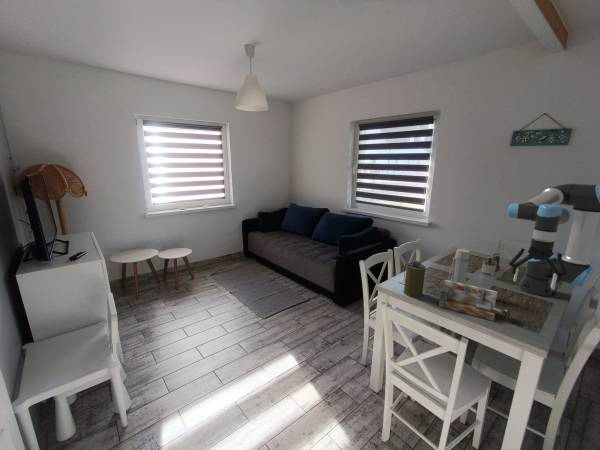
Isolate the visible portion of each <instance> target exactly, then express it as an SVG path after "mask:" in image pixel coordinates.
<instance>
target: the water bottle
mask: <svg viewBox="0 0 600 450" xmlns="http://www.w3.org/2000/svg"><path fill="white" fill-rule="evenodd" d="M469 262H470V250H468V249H464V248H457V249H456V252H455V255H454V256H453V261H452V264H451V267H450V271H449V274H448V277H451V279H449V281H452V282H457V283H461V284H466V281H467V276H468V275H467V274H468V267H469Z"/></svg>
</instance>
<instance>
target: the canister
mask: <svg viewBox="0 0 600 450" xmlns="http://www.w3.org/2000/svg"><path fill="white" fill-rule="evenodd" d="M404 269H405V272H404V274H403V279H404V286H403V287H404V288H403V294H404V295H405V296H407V297H410V298H414V299H419V298H422V297H423V296H424V294H423V292H424V291H423V290H424V283H425V276H426V275H425V274H426V269H427V266H425V265H424V264H423V263H422V261H419V260H415V259H414V261H413V262H406V263H405V265H404Z"/></svg>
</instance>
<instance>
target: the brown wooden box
mask: <svg viewBox="0 0 600 450" xmlns="http://www.w3.org/2000/svg"><path fill="white" fill-rule="evenodd" d="M484 292H486V295H485V300H484V301H487V302H491V307H492V308H495V306H496V302H497V298H498V291H497V290H496V291H495V290H492V289H487V288H484V287H483V288H482V287H478V286H475V285H470V284H467V283H465V284H461V283H457V282H452V281H450V280H449V279H443V285H442V287H441V291H440V297H439V302H438V304H439V305H438V306H439V307H441V308H445V309H448V310H452V311H455V312H458V313H459V312H460V313H463V314H466V315H471V316H474V317H477V318H481V319H485V320H488V321H492V322H494V321H495V316H496V313H495V311H493V310H490V312H486V311H483V310H479V309H475V306H476V300H477V299H479V300H483V297H484Z"/></svg>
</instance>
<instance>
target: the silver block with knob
mask: <svg viewBox="0 0 600 450" xmlns="http://www.w3.org/2000/svg"><path fill="white" fill-rule="evenodd" d="M485 295H486V292H484V297H483V300H479V299H477V300H476V306H475V309H479V310H483V311H486V312H490V310H493V311H494V312H498V313H501V314H503V315H504V317H508V318H509V317H510V315H511V309H509V308H505V309H504V310H503V309H500V308H492V307H491V302H487V301H484V300H485Z"/></svg>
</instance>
